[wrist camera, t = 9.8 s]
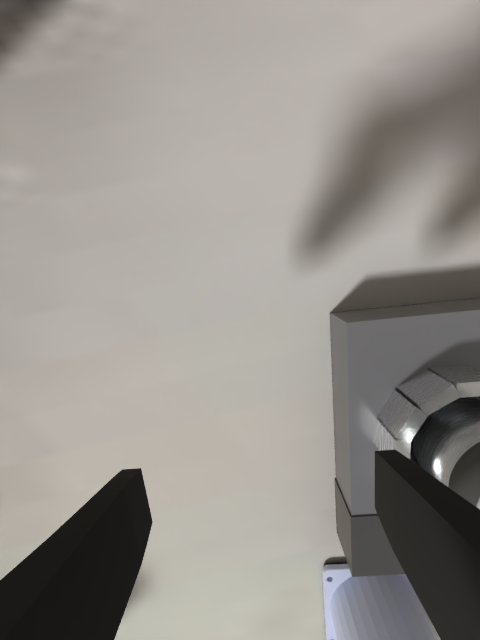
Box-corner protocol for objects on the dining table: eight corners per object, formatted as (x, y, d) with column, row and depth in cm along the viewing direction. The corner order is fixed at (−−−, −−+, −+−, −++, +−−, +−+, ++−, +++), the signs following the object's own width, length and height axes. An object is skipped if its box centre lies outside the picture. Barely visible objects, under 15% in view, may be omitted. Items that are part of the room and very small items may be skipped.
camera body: (480, 522, 20) (554, 604, 16) (336, 531, 21) (364, 612, 16) (503, 295, 17) (609, 308, 12) (328, 313, 17) (360, 331, 12)
